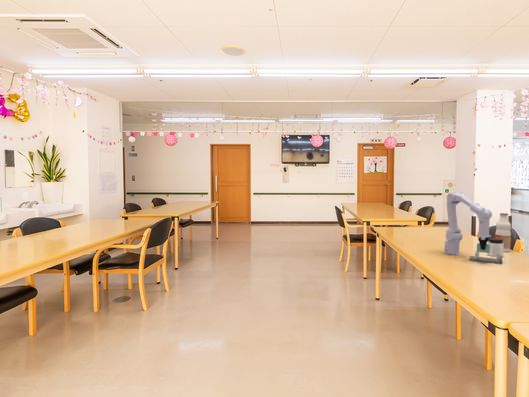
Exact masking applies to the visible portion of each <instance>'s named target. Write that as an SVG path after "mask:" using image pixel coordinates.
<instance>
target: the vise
mask: <svg viewBox="0 0 529 397" xmlns="http://www.w3.org/2000/svg"><path fill="white" fill-rule="evenodd" d="M470 260H471V261H472V262H473V261H474V262H478V263H479V262H481V263H487V264H488V263H489V264H496V265H503V257H502V256H501V254H497V257H496V258H495V257H491V258H490V257H483V256H479V259H475V255H470V256H469V261H470Z"/></svg>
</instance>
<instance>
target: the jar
mask: <svg viewBox="0 0 529 397" xmlns="http://www.w3.org/2000/svg"><path fill="white" fill-rule="evenodd" d="M488 238H489V239H488V242H487V244H490V253H487V256H490V257H491V258H497V254H501V256H502V258H503V257H504V252H503V246H504V243H503V239H500V238H495V237H488Z"/></svg>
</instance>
